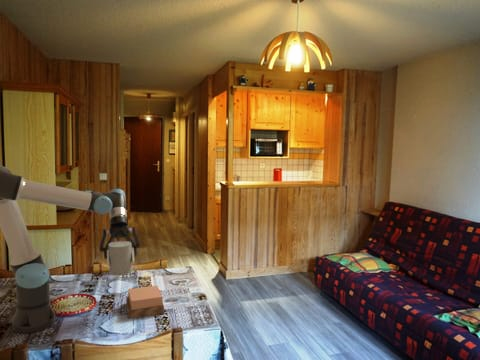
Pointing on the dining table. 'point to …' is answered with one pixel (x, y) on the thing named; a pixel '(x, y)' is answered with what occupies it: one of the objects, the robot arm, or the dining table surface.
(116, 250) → the grey cylinder
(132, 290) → the brown square block
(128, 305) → the tower base
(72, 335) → the dining table surface
